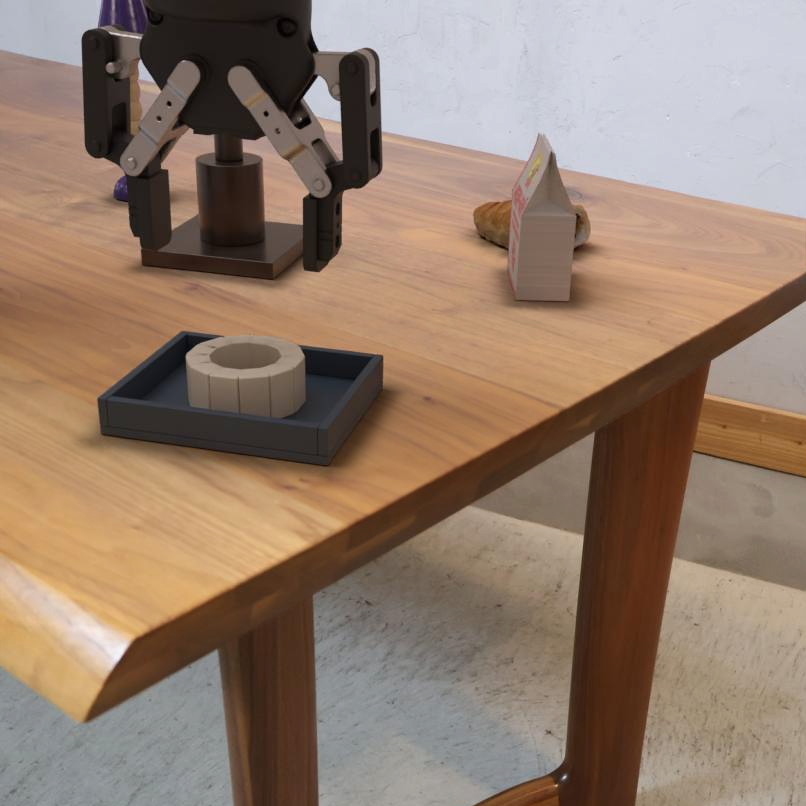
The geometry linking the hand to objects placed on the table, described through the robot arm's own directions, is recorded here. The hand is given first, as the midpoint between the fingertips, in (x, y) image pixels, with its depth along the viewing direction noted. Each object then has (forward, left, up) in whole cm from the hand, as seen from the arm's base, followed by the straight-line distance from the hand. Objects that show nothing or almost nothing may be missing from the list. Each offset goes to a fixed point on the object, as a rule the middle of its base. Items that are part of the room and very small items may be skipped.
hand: (236, 257), depth 58 cm
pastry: (+10, +36, -9) cm, 38 cm away
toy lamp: (-25, +39, -9) cm, 47 cm away
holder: (-11, +26, -8) cm, 30 cm away
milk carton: (+12, +26, -9) cm, 30 cm away
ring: (0, 0, -8) cm, 8 cm away
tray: (0, 0, -8) cm, 8 cm away
